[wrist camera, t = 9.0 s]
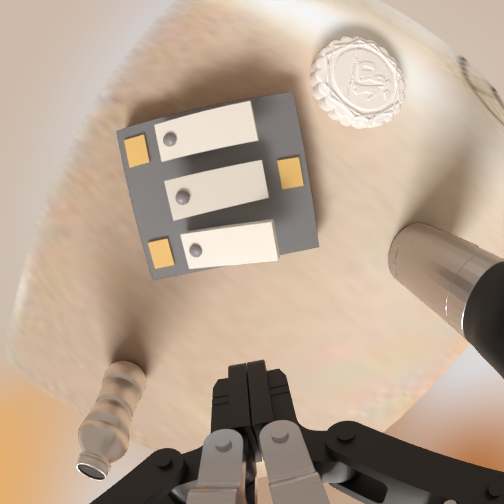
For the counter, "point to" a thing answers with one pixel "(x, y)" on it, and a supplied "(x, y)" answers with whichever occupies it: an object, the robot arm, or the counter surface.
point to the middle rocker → (216, 189)
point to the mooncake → (357, 82)
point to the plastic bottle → (110, 420)
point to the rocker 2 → (231, 244)
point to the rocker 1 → (206, 131)
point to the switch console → (266, 149)
